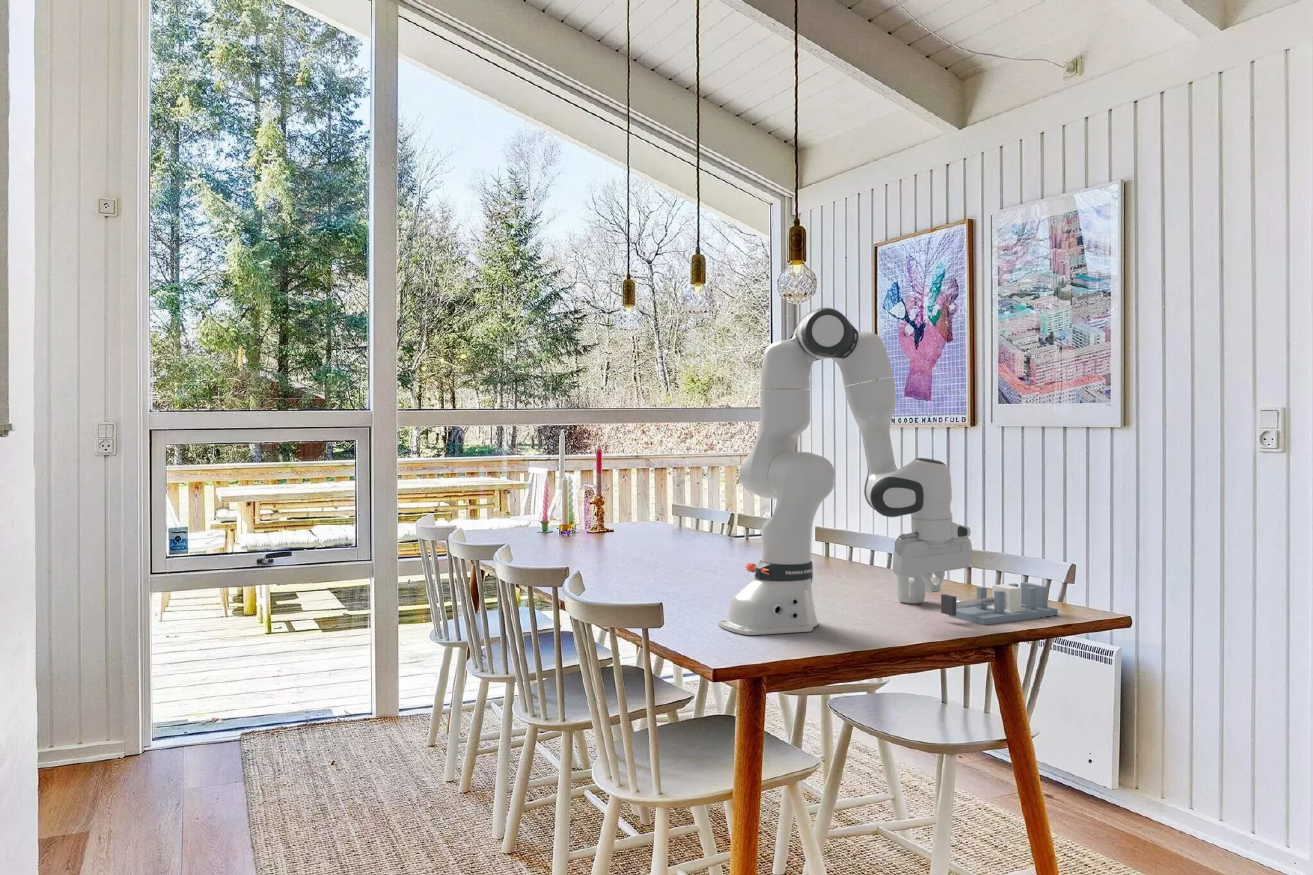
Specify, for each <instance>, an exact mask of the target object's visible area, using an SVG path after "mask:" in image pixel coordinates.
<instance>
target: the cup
mask: <svg viewBox="0 0 1313 875" xmlns="http://www.w3.org/2000/svg"><path fill="white" fill-rule="evenodd" d="M894 577H895V578H894V580H895V588H896V590H895V591H896V597H897V600H898V602H901V603H903V604H910V605H916V604H922V603H923V602H924V601H925V598H926V593H927V592H926V590H925V583H924V582H923V580H922V578H921V575H913V576H906V577H903V576H899V575H896V574H895V573H894Z"/></svg>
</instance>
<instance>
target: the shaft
mask: <svg viewBox="0 0 1313 875" xmlns="http://www.w3.org/2000/svg"><path fill="white" fill-rule="evenodd" d="M987 605H994V598H993V597H992V596H990V597H987V598H979V599H977V598H972V599H963V600H957V596H954V595H952V594H948V593H947V594H946V593H944V594H943V593H942V594H940V613H941V614H945V615H948V616H949V615H951V616H950V617H952V616H955V615H956V609H962V608H970V607H979V606H987Z"/></svg>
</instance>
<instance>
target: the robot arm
mask: <svg viewBox="0 0 1313 875" xmlns="http://www.w3.org/2000/svg"><path fill="white" fill-rule="evenodd" d="M826 359H831V360H832V361H835V363H836V364H837V365H838V367H839V370H840V372H841V376H842V382H843V388H844V393H845V396H846V399H847V403H848V406H849V409H850V411H851V414H852V416H853V418H854V421H856V422H855V423H856V424H857V427H858V428H859V431H860V433H861V437H862V442H863V449H864V454H865V460H866V466H867V474H866V475H867V476H866V479H865V483H864V490H863V492H864V493H863V494H864V497H865V500H866V502H867V504H868V505H869V507H870V508H872V509H873V510H875V511H876V512H877V513H878V514H880V515H881V516H883V517H887V518H898V517H901V516H906V515H910V516H911V519H910V520H911V522H910V523H911V524H910V526H911V532H909V533H901V534H899V536H897V537H896V539H895V540H894V547H893V548H894V549H893V556H892V557H893V558H892V572H893V573H894V575H895V574H896V575H899V576H903V577H906V576H913V575H921V578H922V580H923V582H924V583H925V590H926V592H925V593H929V594H932V593H937V592H938V593H939V592H941V590H942V589H941V588H942V583H943V581H944V578H945V576H946V574H945V572H947V571H948V572H949V571H955V570H961V569H968V568H970V567H971V565H972V562H973V548H972V541H971V539H970V538H969V537H970V536H971V533H972V532H971V528H970V527H969V526H966V525H962V524H958V523H956V522H954V521H953V514H952V511H951V503H952V499H953V494H952V493H953V492H952V491H953V490H952V489H953V488H952V477H951V472H950V469H949V467H948V465H947V464H945V463H944V462H942V461H940V460H936V459H932V458H925V457H917V458H914V459H913V460H912V461H911V462H909V463H908V464H906V465H904V466H902V467H901V468H897V466H896V462H895V456H894V449H893V444H892V439H891V431H890V427H891V422H892V417H893V415H894V412H895V410H896V407H897V404H896V403H897V402H896V401H897V397H896V396H897V394H896V392H897V391H896V384H895V377H894V374H893V369H892V365H891V362H890V357H889V354H888V351H887V350H886V347H885V344H884V342H883V340H882V338H881V337H880V336H879V335H878V334H875V332H869V331H861V332H859V331H858V330H857V329H856V327H855V326H854V325H853V324H852V323H851V322H850V321H849V319H848V318H847V317H846V315H844V314H843V313H842V312H840V311H839V310H838V309H835V308H832V307H821V308H818V309H814V310H811V311H810V312H807V313H806V314H805V315H804V316H803V317H802V318H801V319H800V320H799V322H798V323H797V324H796V326H795V328H794V329H793V332H792V333H791V335H790V337H789V339H781V340H776V341H774V342H772V343H771V344H769V345H768V346H767V347H766V348H765V350H764V352H763V358H762V364H761V370H760V371H761V372H760V409H759V410H760V412H759V413H760V415H759V418H760V420H759V425H758V426H759V427H758V431H757V436H756V439H755V442H754V445H753V447H752V449H751V450H750V452H749V453H748V454H747V456H746V457H745V458H744V460H743V461H742V462H741V464H740V466H739V467H740V468H739V478H740V479H739V480H740V483H741V485H742V487H743V489H745V490H746V491H748V492H749V493H751V494H754V495H756V496H758V497H761V498H764V499H765V498H766V499H775V500H776V502H775V507H774V510H773V513H772V516H771V517H770V518H769V519H767V520H766V521H765V522H763V525H762V526H761V540H760V541H761V549H760V550H761V555H760V556H761V560H760V561H759V563H758V564H755V563H752V562H748V563H747V564H746V565H745V570H746V571H747V572H750V573H755V574H754V578H753V579H752V580H751V581H750V582H748V583H747V584H746V585H745V586H744V587H743V588H741V589H740V590H739V591H738V592H737V593H736V594H735V595H733V596H732V598H731V599H730V603H729V608H728V615H727V616H728V617H724V618H720V619H718V626H719V627H721V628H722V629H724V630H727V631H730V632H732V633H736V634H740V635H746V636H758V635H775V634H777V635H778V634H788V633H789V634H791V633H805V632H812V631H813V630H814V628H815V627H817V626H819V622H818V619H817V616H816V611H815V605H814V598H813V590H812V582H813V579H814V575H813V574H814V569H813V561H812V559H811V558H812V556H811V555H812V554H811V553H812V552H811V551H812V548H811V547H812V529H813V524H814V519H815V517H816V514H817V511H818V509H819V507H820V505H821V504H822V502H823V501H824V500H825V499H827V498H828V497H829V495H830V494H831V493H832V491H833V489H834V486H835V482H836V472H835V469H834V465H833V463H832V462H831V461H830V460H829V459H827V458H826V457H823V456H821V455H819V454H815V453H812V452H808V451H807V452H806V451H805V452H804V451H796V445H797V443H798V442H797V441H798V440H799V438H800V435H801V433H803V432H804V431H806V430H807V428H808V427H809V425H810V422H811V385H810V384H811V382H810V377H811V376H810V375H811V370H812V369H811V368H812V366H813V364H814V362H816V361H817V362H818V361H820V360H826ZM933 576H934V578H933ZM931 578H933V581H932V580H931Z"/></svg>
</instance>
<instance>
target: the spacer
mask: <svg viewBox="0 0 1313 875" xmlns="http://www.w3.org/2000/svg"><path fill="white" fill-rule="evenodd" d="M991 587H992V591H991V592H992V593H991V597H993V598H994V591H1005V600H1004V607H1007V611H1018V610H1021V598H1022V588H1021V586H1018V587H1015V586H1010V585H1009V584H1004V583H1002V584H1001V583H1000V584H992V586H991ZM992 607H994V605H992Z"/></svg>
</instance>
